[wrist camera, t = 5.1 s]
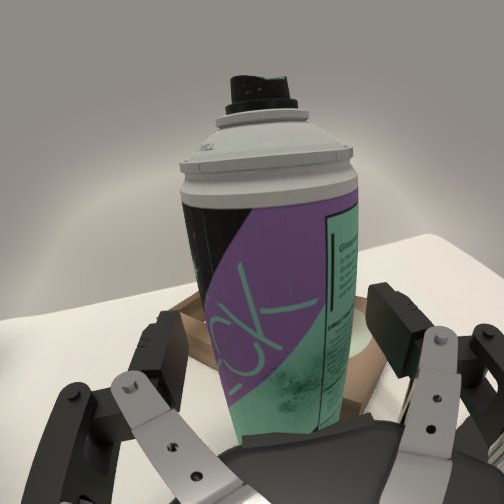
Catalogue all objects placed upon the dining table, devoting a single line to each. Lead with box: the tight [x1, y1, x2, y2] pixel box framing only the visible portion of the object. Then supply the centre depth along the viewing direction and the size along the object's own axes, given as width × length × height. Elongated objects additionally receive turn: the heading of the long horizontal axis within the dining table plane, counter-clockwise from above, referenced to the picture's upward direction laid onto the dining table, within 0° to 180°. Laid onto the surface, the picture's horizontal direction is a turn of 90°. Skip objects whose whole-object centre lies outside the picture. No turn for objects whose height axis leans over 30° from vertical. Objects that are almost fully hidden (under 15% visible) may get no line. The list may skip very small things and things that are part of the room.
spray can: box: [179, 75, 358, 445], centre depth 11 cm, size 6×6×20 cm
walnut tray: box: [157, 291, 387, 421], centre depth 26 cm, size 20×12×3 cm, turn 53°
